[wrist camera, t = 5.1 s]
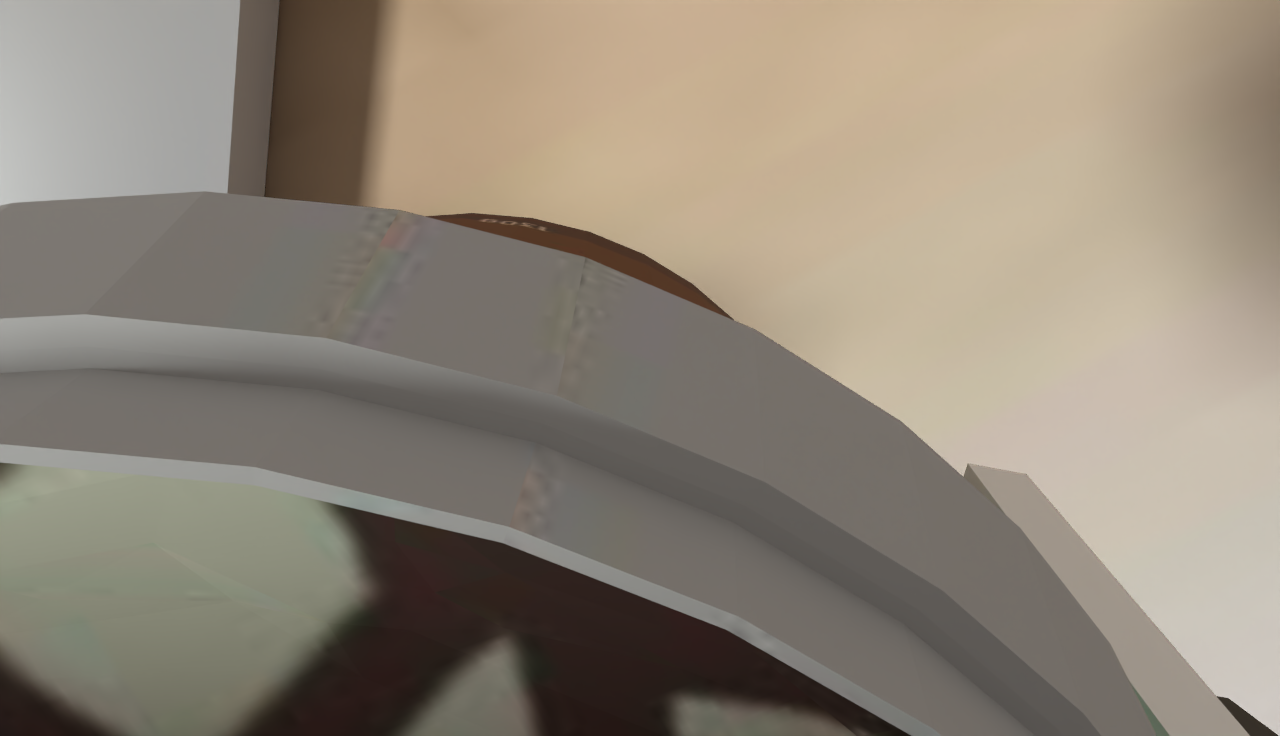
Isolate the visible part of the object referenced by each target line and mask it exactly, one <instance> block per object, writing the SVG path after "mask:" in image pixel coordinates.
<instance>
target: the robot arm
mask: <svg viewBox="0 0 1280 736" xmlns="http://www.w3.org/2000/svg"><path fill="white" fill-rule="evenodd" d="M964 478H965V479H966V480H967V481H968V482H969V483H971V484H972V485H973V486H974V487H975V488H976V489H977V490H978V491H980V492H981V493H982V494H983V495H984V496H985V497H986V498H987V499H988V500H990V501H991V502H992V503H993V504H994V505H995V506H996V507H997V508H999V509H1000V510H1001V511H1002V512H1003V513H1004V514H1005V515H1006V516H1007V517H1009V518H1010V519H1011V520H1012V521H1013V522H1014V523H1015V524H1016V525H1017V526H1019V527H1020V528H1021V530H1022V531H1023V532H1024V533H1025V535H1026V536H1027V537H1028V539H1029V540H1030V541H1031V542H1032V544H1033V545H1034V546H1035V548H1036V549H1037V550H1038V551H1039V553H1040V554H1041V555H1042V556H1043V558H1044V559H1045V560H1046V562H1047V563H1048V564H1049V565H1050V567H1051V568H1052V569H1053V571H1054V572H1055V573H1056V574H1057V576H1058V577H1059V578H1060V580H1061V581H1062V582H1063V583H1064V585H1065V586H1066V587H1067V589H1068V590H1069V591H1070V592H1071V594H1072V595H1073V596H1074V598H1075V599H1076V600H1077V601H1078V603H1079V604H1080V605H1081V607H1082V608H1083V609H1084V610H1085V612H1086V613H1087V614H1088V616H1089V617H1090V618H1091V619H1092V621H1093V622H1094V623H1095V625H1096V626H1097V627H1098V628H1099V630H1100V631H1101V632H1102V634H1103V635H1104V636H1105V637H1106V639H1107V640H1108V641H1109V643H1110V644H1111V646H1112V648H1113V650H1114V652H1115V654H1116V656H1117V658H1118V660H1119V662H1120V664H1121V666H1122V668H1123V670H1124V672H1125V674H1126V676H1127V678H1128V679H1129V681H1130V683H1131V685H1132V687H1133V689H1134V691H1135V693H1136V695H1137V697H1138V699H1139V701H1140V703H1141V705H1142V707H1143V709H1144V711H1145V713H1146V715H1147V717H1148V719H1149V721H1150V723H1151V725H1152V727H1153V729H1154V731H1155V733H1156V735H1157V736H1278V735H1277V734H1276V733H1274V732H1273V731H1272V730H1270V729H1269V728H1268V727H1266V726H1265V725H1264V724H1262V723H1261V722H1259V721H1258V720H1257V719H1255V718H1254V717H1253V716H1251V715H1250V714H1249V713H1247V712H1246V711H1245V710H1243V709H1242V708H1241V707H1239V706H1238V705H1237V704H1235V703H1234V702H1233V701H1231V700H1230V699H1229V698H1224V697H1218V696H1216V695H1215V694H1214V693H1213V692H1212V691H1211V689H1210V688H1209V687H1208V686H1207V685H1206V684H1205V682H1204V681H1203V680H1202V679H1201V678H1200V677H1199V675H1198V674H1197V673H1196V672H1195V671H1194V670H1193V668H1192V667H1191V666H1190V665H1189V664H1188V663H1187V661H1186V660H1185V659H1184V658H1183V657H1182V656H1181V654H1180V653H1179V652H1178V651H1177V650H1176V649H1175V647H1174V646H1173V645H1172V644H1171V643H1170V642H1169V640H1168V639H1167V638H1166V637H1165V636H1164V634H1163V633H1162V632H1161V631H1160V630H1159V629H1158V627H1157V626H1156V625H1155V624H1154V623H1153V622H1152V620H1151V619H1150V618H1149V617H1148V616H1147V615H1146V613H1145V612H1144V611H1143V610H1142V609H1141V608H1140V606H1139V605H1138V604H1137V603H1136V602H1135V601H1134V599H1133V598H1132V597H1131V596H1130V595H1129V594H1128V592H1127V591H1126V590H1125V589H1124V588H1123V586H1122V585H1121V584H1120V583H1119V582H1118V581H1117V579H1116V578H1115V577H1114V576H1113V575H1112V574H1111V572H1110V571H1109V570H1108V569H1107V568H1106V567H1105V565H1104V564H1103V563H1102V562H1101V561H1100V560H1099V558H1098V557H1097V556H1096V555H1095V554H1094V553H1093V551H1092V550H1091V549H1090V548H1089V547H1088V546H1087V544H1086V543H1085V542H1084V541H1083V540H1082V539H1081V537H1080V536H1079V535H1078V534H1077V533H1076V531H1075V530H1074V529H1073V528H1072V527H1071V526H1070V524H1069V523H1068V522H1067V521H1066V520H1065V519H1064V517H1063V516H1062V515H1061V514H1060V513H1059V512H1058V510H1057V509H1056V508H1055V507H1054V506H1053V505H1052V503H1051V502H1050V501H1049V500H1048V499H1047V498H1046V496H1045V495H1044V494H1043V493H1042V492H1041V491H1040V489H1039V488H1038V487H1037V486H1036V485H1035V484H1034V482H1033V481H1032V480H1031V479H1030V478H1029V476H1028V475H1027V474H1022V473H1017V472H1012V471H1006V470H1001V469H995V468H990V467H984V466H979V465H973V464H968V465H967V468H966V471H965V474H964Z"/></svg>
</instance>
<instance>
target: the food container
mask: <svg viewBox="0 0 1280 736" xmlns="http://www.w3.org/2000/svg"><path fill="white" fill-rule="evenodd" d="M0 736H1157V735H1156V733H1155V731H1154V729H1153V727H1152V725H1151V723H1150V721H1149V719H1148V717H1147V715H1146V713H1145V711H1144V709H1143V707H1142V705H1141V703H1140V701H1139V699H1138V697H1137V695H1136V693H1135V691H1134V689H1133V687H1132V685H1131V683H1130V681H1129V679H1128V678H1127V676H1126V674H1125V672H1124V670H1123V668H1122V666H1121V664H1120V662H1119V660H1118V658H1117V656H1116V654H1115V652H1114V650H1113V648H1112V646H1111V644H1110V643H1109V641H1108V640H1107V639H1106V637H1105V636H1104V635H1103V634H1102V632H1101V631H1100V630H1099V628H1098V627H1097V626H1096V625H1095V623H1094V622H1093V621H1092V619H1091V618H1090V617H1089V616H1088V614H1087V613H1086V612H1085V610H1084V609H1083V608H1082V607H1081V605H1080V604H1079V603H1078V601H1077V600H1076V599H1075V598H1074V596H1073V595H1072V594H1071V592H1070V591H1069V590H1068V589H1067V587H1066V586H1065V585H1064V583H1063V582H1062V581H1061V580H1060V578H1059V577H1058V576H1057V574H1056V573H1055V572H1054V571H1053V569H1052V568H1051V567H1050V565H1049V564H1048V563H1047V562H1046V560H1045V559H1044V558H1043V556H1042V555H1041V554H1040V553H1039V551H1038V550H1037V549H1036V548H1035V546H1034V545H1033V544H1032V542H1031V541H1030V540H1029V539H1028V537H1027V536H1026V535H1025V533H1024V532H1023V531H1022V530H1021V528H1020V527H1019V526H1017V525H1016V524H1015V523H1014V522H1013V521H1012V520H1011V519H1010V518H1009V517H1007V516H1006V515H1005V514H1004V513H1003V512H1002V511H1001V510H1000V509H999V508H997V507H996V506H995V505H994V504H993V503H992V502H991V501H990V500H988V499H987V498H986V497H985V496H984V495H983V494H982V493H981V492H980V491H978V490H977V489H976V488H975V487H974V486H973V485H972V484H971V483H969V482H968V481H967V480H966V479H965V478H964V477H963V476H962V475H961V474H959V473H958V472H957V471H956V470H955V469H954V468H953V467H952V466H950V465H949V464H948V463H947V462H946V461H945V460H944V459H943V458H942V457H940V456H939V455H938V454H937V453H936V452H935V451H934V450H933V449H931V448H930V447H929V446H928V445H927V444H926V443H925V442H924V441H923V440H921V439H920V438H919V437H918V436H917V435H916V434H915V433H914V432H913V431H911V430H910V429H909V428H908V427H907V426H906V425H905V424H904V423H902V422H901V421H900V420H898V419H897V418H895V417H893V416H892V415H890V414H889V413H887V412H885V411H884V410H882V409H881V408H879V407H877V406H876V405H874V404H873V403H871V402H869V401H868V400H866V399H865V398H863V397H862V396H860V395H858V394H857V393H855V392H854V391H852V390H850V389H849V388H847V387H846V386H844V385H842V384H841V383H839V382H838V381H836V380H835V379H833V378H831V377H830V376H828V375H827V374H825V373H823V372H822V371H820V370H819V369H817V368H815V367H814V366H812V365H811V364H809V363H808V362H806V361H804V360H803V359H801V358H800V357H798V356H796V355H795V354H793V353H792V352H790V351H788V350H787V349H785V348H784V347H782V346H781V345H779V344H777V343H776V342H774V341H773V340H771V339H769V338H768V337H766V336H765V335H763V334H761V333H760V332H758V331H757V330H755V329H753V328H751V327H748V326H746V325H743V324H741V323H739V322H736V321H734V319H732V318H731V317H730V316H729V315H728V314H727V313H725V312H724V311H723V310H722V309H721V308H720V307H718V306H717V305H716V304H715V303H714V302H713V301H712V300H710V299H709V298H708V297H707V296H706V295H705V294H703V293H702V292H701V291H700V290H699V289H698V288H696V287H695V286H694V285H693V284H692V283H690V282H688V281H687V280H685V279H683V278H682V277H680V276H679V275H677V274H675V273H674V272H672V271H670V270H669V269H667V268H665V267H664V266H662V265H661V264H659V263H657V262H656V261H654V260H652V259H651V258H649V257H647V256H646V255H644V254H642V253H640V252H637V251H635V250H632V249H630V248H627V247H625V246H623V245H620V244H618V243H615V242H613V241H610V240H608V239H606V238H603V237H601V236H598V235H596V234H593V233H591V232H588V231H583V230H579V229H575V228H571V227H567V226H563V225H558V224H554V223H550V222H546V221H542V220H538V219H533V218H524V217H512V216H500V215H488V214H476V213H468V214H454V215H439V216H421V215H417V214H413V213H409V212H405V211H401V210H394V209H384V208H373V207H363V206H352V205H342V204H332V203H321V202H311V201H300V200H290V199H280V198H269V197H259V196H248V195H238V194H228V193H217V192H207V191H202V192H185V193H169V194H152V195H135V196H118V197H101V198H84V199H67V200H51V201H34V202H17V203H9V204H5V205H0Z"/></svg>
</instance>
